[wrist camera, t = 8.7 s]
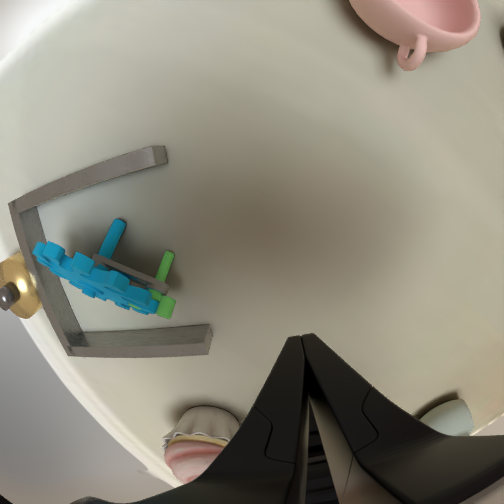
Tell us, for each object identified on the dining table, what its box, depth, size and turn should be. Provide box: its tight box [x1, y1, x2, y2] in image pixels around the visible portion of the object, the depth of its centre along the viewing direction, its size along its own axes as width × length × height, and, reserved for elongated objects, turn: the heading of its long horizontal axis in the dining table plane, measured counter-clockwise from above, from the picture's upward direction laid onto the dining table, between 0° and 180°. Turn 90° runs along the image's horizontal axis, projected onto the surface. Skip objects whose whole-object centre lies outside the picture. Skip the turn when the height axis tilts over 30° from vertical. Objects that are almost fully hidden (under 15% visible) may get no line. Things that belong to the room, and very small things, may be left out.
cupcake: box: [161, 406, 240, 484], centre depth 23 cm, size 9×9×10 cm
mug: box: [349, 0, 481, 71], centre depth 11 cm, size 12×10×6 cm
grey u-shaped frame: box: [0, 146, 213, 358], centre depth 19 cm, size 15×21×5 cm
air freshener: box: [420, 399, 474, 436], centre depth 23 cm, size 11×8×10 cm
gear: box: [32, 219, 176, 319], centre depth 19 cm, size 11×6×10 cm
